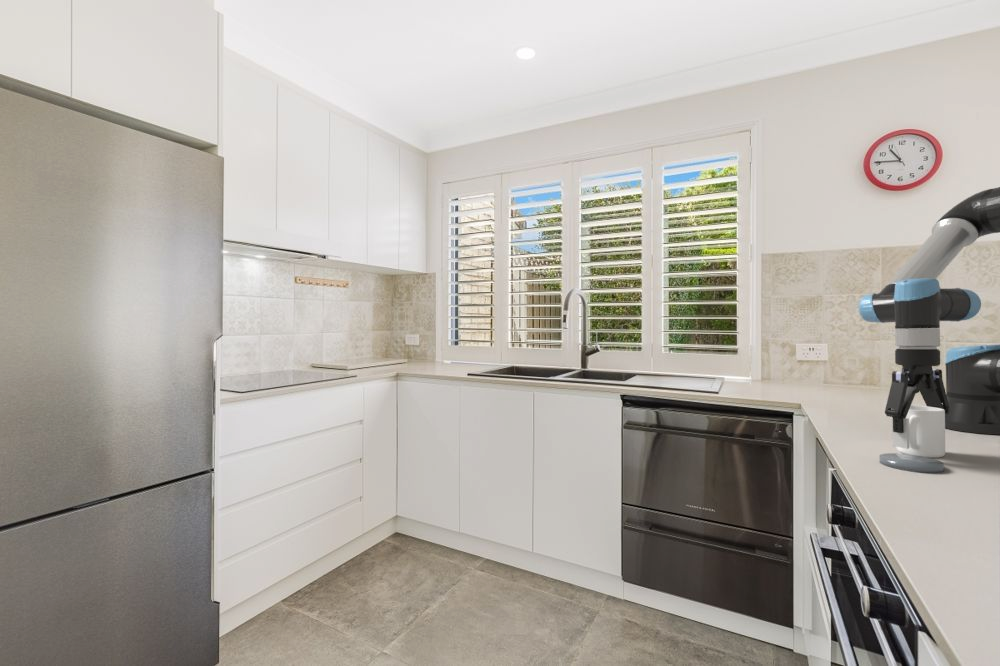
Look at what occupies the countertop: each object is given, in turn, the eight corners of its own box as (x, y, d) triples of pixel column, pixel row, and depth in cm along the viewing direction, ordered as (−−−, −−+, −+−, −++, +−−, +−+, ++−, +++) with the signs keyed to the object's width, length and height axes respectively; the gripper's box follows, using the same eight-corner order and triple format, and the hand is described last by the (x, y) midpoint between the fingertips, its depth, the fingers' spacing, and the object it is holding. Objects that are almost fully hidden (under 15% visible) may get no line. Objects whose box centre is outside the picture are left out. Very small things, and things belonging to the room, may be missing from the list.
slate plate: (897, 456, 102) (897, 451, 102) (955, 469, 93) (955, 463, 93) (868, 461, 99) (868, 456, 99) (925, 475, 89) (925, 469, 89)
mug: (937, 463, 97) (936, 414, 97) (886, 455, 103) (886, 409, 103) (949, 453, 104) (948, 408, 104) (901, 446, 110) (900, 403, 110)
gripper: (928, 346, 111) (930, 435, 111) (863, 348, 103) (865, 446, 103) (969, 346, 104) (970, 442, 104) (903, 349, 96) (904, 454, 96)
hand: (918, 444), depth 104 cm, fingers closed on mug, 12 cm apart
